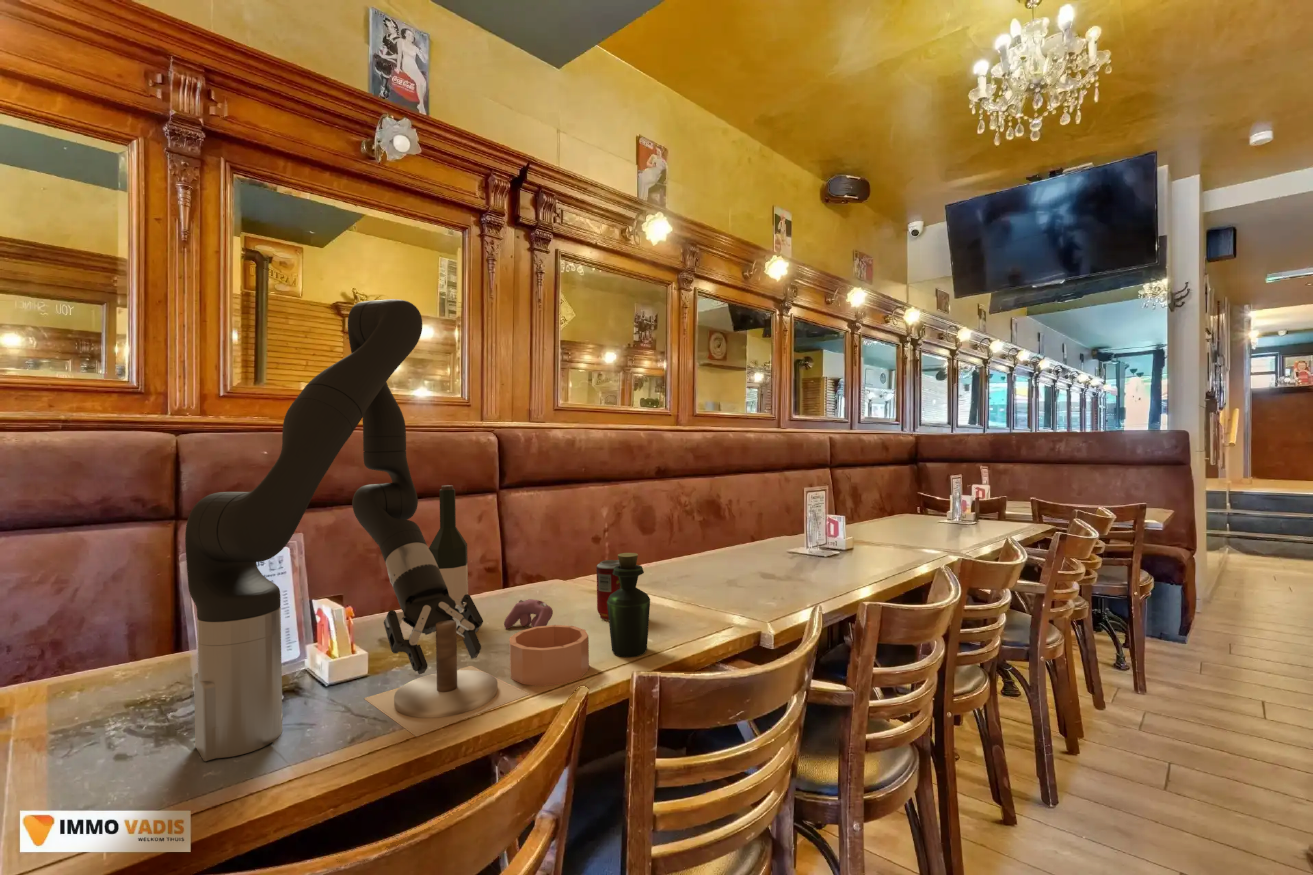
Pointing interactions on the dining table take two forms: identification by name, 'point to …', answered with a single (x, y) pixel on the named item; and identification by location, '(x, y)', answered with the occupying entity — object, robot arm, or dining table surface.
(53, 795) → the dining table surface
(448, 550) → the wine bottle
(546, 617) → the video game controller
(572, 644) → the bowl
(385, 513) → the robot arm
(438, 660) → the lid
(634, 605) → the potion bottle
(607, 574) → the soda can
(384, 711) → the cork mat
